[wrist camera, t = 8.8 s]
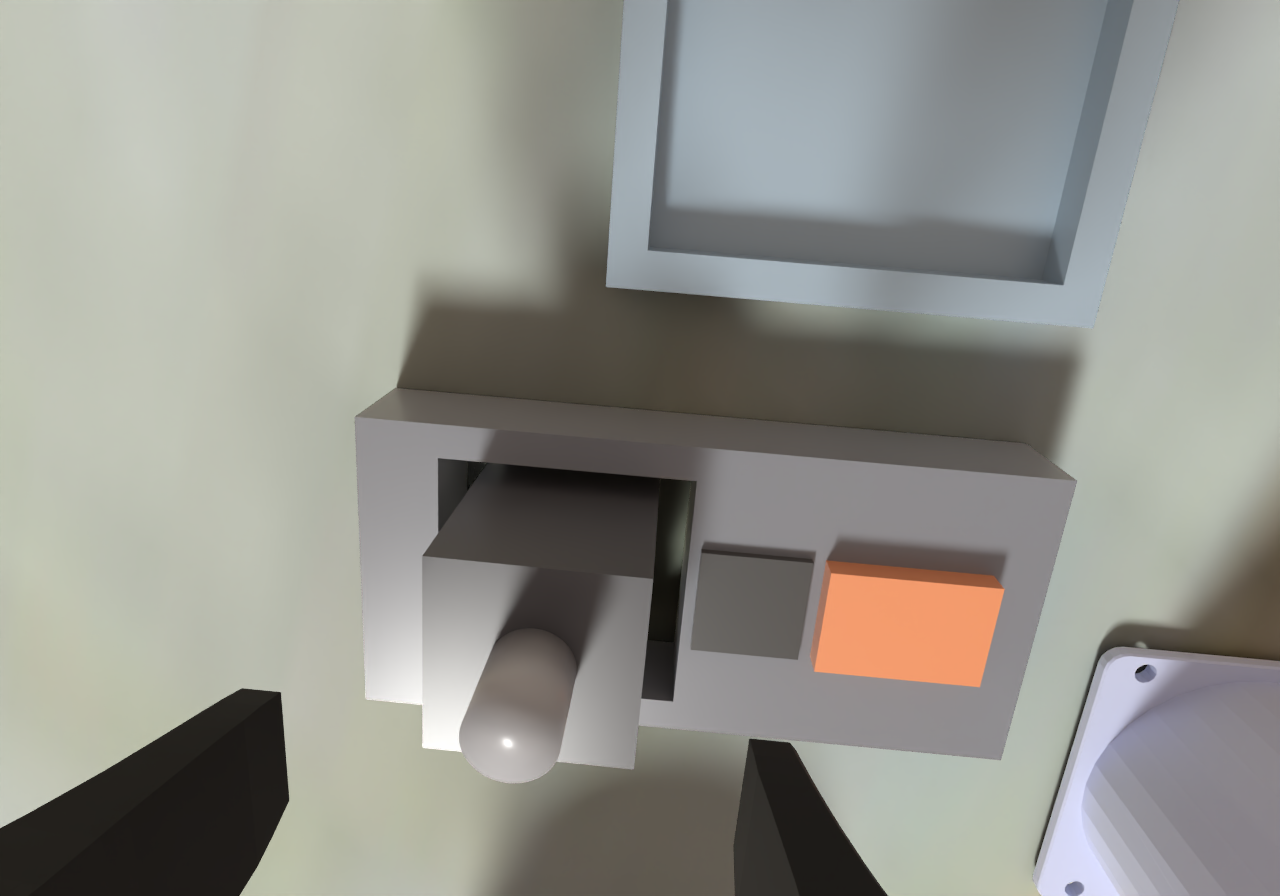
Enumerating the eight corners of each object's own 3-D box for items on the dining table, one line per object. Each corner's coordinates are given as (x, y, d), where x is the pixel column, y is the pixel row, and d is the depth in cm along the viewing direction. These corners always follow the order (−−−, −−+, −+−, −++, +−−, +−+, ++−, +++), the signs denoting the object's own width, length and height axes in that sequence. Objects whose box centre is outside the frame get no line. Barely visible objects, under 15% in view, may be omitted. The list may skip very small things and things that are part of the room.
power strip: (1025, 443, 19) (1091, 491, 16) (964, 694, 21) (1010, 778, 18) (395, 387, 19) (343, 425, 16) (400, 641, 21) (356, 715, 18)
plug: (661, 463, 19) (649, 642, 12) (646, 608, 20) (627, 855, 13) (498, 447, 19) (380, 615, 12) (493, 592, 20) (384, 830, 13)
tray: (1192, -229, 14) (1252, -279, 13) (1057, 316, 18) (1093, 328, 16) (647, -269, 15) (644, -322, 13) (611, 277, 18) (605, 287, 16)
